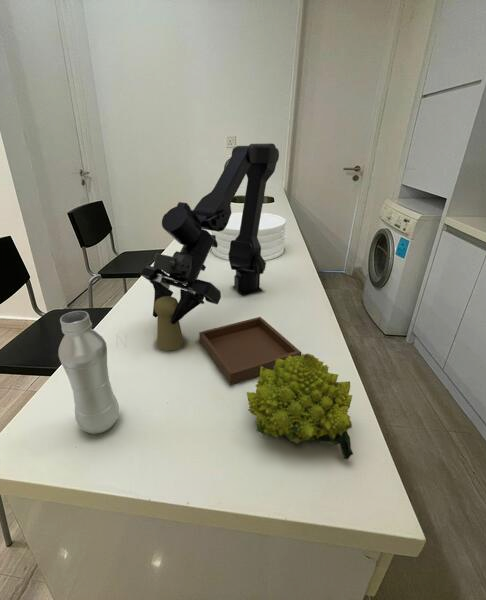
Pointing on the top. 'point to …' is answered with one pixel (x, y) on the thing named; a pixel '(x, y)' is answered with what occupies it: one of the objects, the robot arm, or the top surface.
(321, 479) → the top surface
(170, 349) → the cork
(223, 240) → the plate stack
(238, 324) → the tray
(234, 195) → the robot arm
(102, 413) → the plastic bottle
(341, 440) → the vegetable
